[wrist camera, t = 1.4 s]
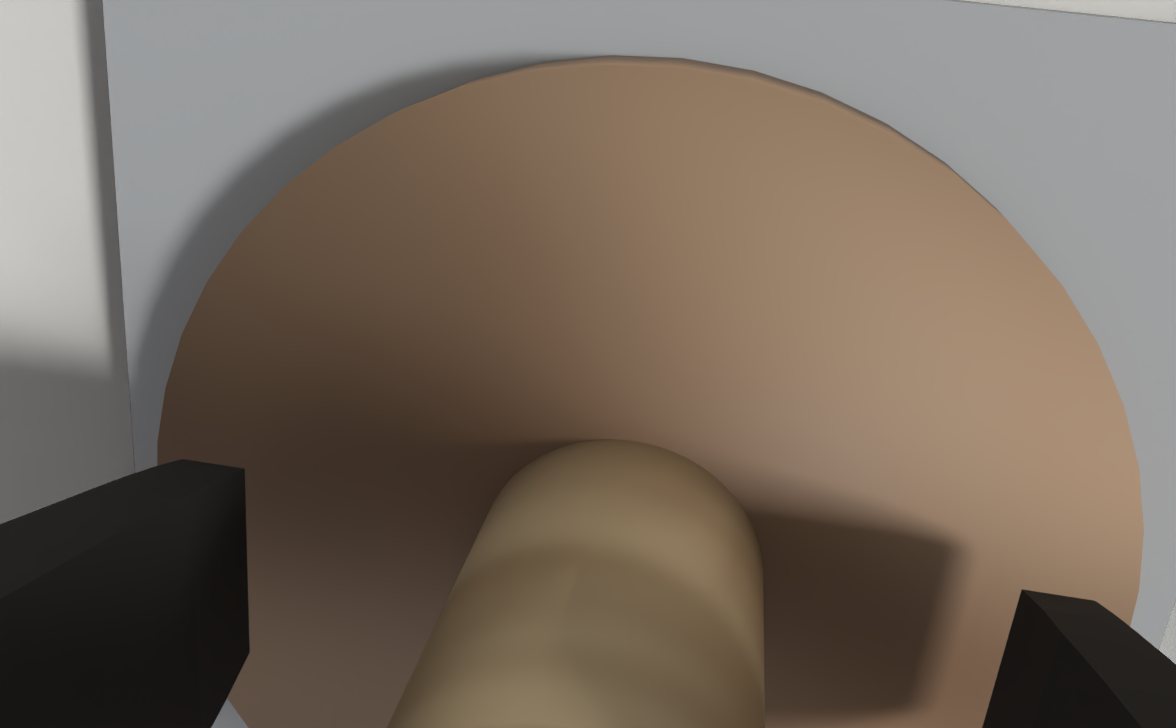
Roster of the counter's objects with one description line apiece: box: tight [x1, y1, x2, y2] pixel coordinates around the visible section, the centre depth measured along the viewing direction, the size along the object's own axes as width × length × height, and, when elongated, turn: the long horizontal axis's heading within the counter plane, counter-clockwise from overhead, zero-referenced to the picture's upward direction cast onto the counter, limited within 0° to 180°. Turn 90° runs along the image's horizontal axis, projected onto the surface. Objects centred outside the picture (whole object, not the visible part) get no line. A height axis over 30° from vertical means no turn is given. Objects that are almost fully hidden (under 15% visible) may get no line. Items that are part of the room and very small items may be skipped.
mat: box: [102, 0, 1176, 728], centre depth 12 cm, size 11×11×1 cm
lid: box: [157, 55, 1144, 728], centre depth 9 cm, size 10×10×5 cm
